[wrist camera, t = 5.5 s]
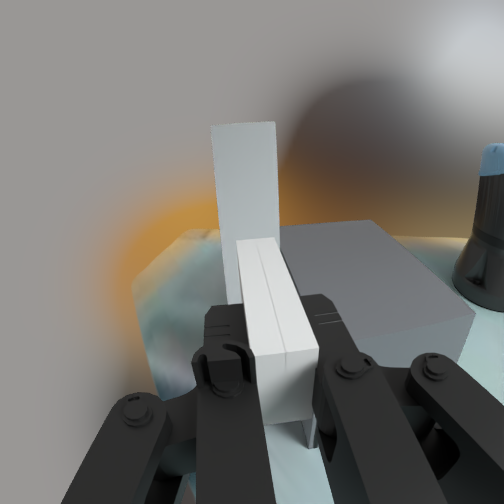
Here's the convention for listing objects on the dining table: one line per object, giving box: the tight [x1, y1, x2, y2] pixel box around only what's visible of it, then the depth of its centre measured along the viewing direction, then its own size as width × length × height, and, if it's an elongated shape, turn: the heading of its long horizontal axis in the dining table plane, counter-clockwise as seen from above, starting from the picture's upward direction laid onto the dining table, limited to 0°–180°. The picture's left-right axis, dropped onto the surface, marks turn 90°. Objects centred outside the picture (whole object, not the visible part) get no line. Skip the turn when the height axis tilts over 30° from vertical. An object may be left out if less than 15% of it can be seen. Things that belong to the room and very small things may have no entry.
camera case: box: [279, 220, 476, 449], centre depth 30 cm, size 20×12×12 cm, turn 5°
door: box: [211, 122, 280, 305], centre depth 26 cm, size 10×5×22 cm, turn 5°
